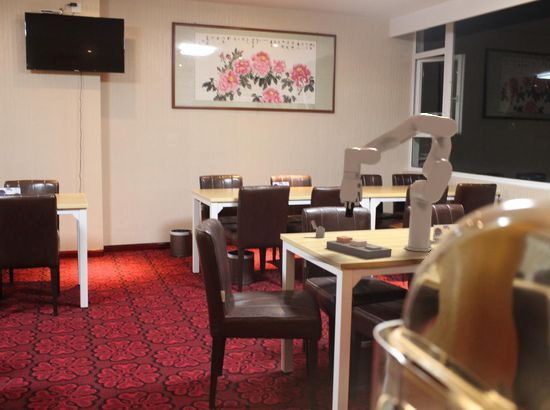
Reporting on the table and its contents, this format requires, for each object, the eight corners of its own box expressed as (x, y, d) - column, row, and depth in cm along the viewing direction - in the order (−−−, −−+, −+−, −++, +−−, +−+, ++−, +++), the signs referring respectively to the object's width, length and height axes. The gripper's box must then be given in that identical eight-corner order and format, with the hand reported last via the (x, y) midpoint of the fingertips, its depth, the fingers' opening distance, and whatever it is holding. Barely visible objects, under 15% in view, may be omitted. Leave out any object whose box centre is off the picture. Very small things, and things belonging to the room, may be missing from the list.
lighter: (324, 237, 294) (325, 221, 293) (323, 237, 293) (324, 221, 292) (311, 235, 297) (312, 219, 296) (309, 236, 296) (310, 220, 295)
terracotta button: (344, 242, 269) (345, 236, 268) (352, 244, 265) (352, 237, 264) (336, 243, 266) (336, 236, 265) (343, 245, 262) (344, 238, 261)
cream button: (358, 246, 261) (358, 239, 261) (366, 247, 257) (366, 241, 257) (350, 246, 258) (350, 240, 258) (357, 248, 254) (358, 241, 254)
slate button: (372, 252, 254) (373, 245, 254) (381, 254, 250) (381, 247, 250) (364, 253, 251) (364, 246, 251) (372, 255, 247) (373, 248, 247)
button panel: (349, 245, 273) (350, 239, 272) (391, 256, 252) (391, 249, 251) (326, 247, 265) (326, 241, 264) (367, 258, 244) (367, 251, 243)
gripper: (370, 177, 256) (367, 219, 258) (346, 174, 268) (343, 214, 270) (357, 177, 251) (355, 220, 253) (333, 174, 263) (331, 215, 265)
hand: (349, 217), depth 262 cm, fingers closed
